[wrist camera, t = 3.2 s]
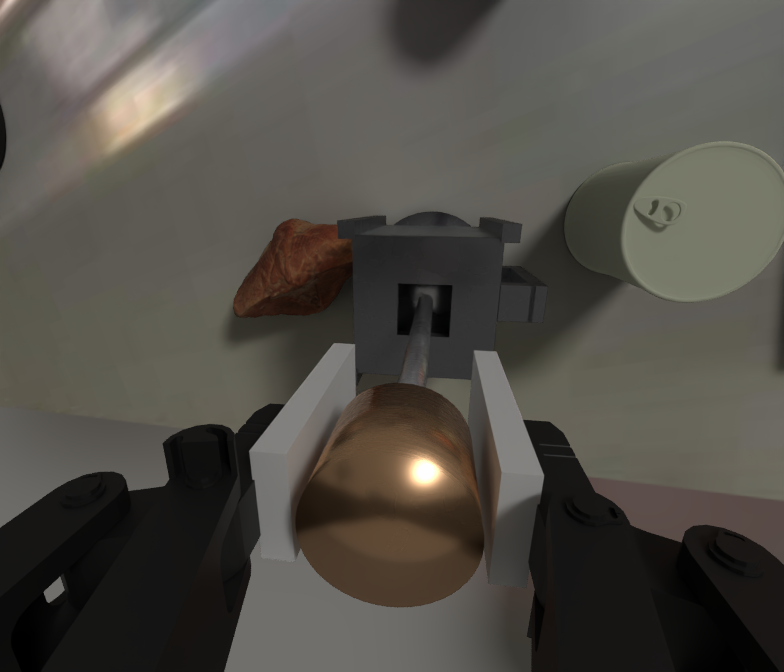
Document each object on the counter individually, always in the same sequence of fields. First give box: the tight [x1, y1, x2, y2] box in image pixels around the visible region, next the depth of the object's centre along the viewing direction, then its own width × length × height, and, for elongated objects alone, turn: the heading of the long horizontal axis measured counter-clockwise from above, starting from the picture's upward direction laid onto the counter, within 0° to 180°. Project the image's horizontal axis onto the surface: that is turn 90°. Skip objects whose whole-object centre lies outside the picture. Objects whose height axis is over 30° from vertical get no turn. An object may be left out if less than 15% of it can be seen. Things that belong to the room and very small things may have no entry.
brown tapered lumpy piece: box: [233, 219, 353, 318], centre depth 35 cm, size 13×8×10 cm
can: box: [564, 141, 784, 303], centre depth 28 cm, size 9×9×12 cm
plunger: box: [295, 283, 484, 607], centre depth 17 cm, size 7×7×20 cm
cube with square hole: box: [337, 212, 548, 385], centre depth 30 cm, size 13×11×14 cm
